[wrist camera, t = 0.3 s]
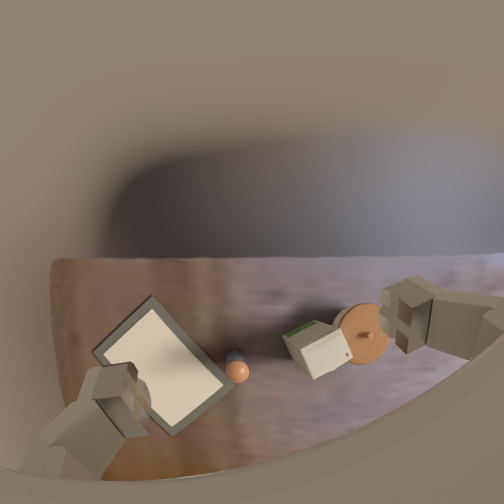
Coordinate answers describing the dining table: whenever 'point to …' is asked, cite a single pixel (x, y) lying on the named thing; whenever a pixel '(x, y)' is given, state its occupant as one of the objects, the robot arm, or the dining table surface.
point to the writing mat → (166, 366)
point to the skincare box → (317, 348)
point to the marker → (236, 366)
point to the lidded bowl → (362, 332)
